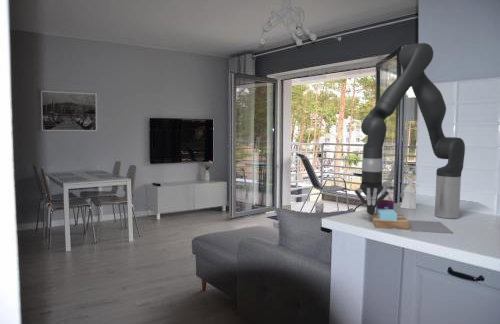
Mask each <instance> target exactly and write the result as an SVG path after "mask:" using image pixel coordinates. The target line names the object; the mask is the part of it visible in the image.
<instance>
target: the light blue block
mask: <svg viewBox="0 0 500 324" xmlns="http://www.w3.org/2000/svg"><path fill="white" fill-rule="evenodd" d="M397 215H398V213H397V212H396V211H395V209H394V210H393V209H377V216H378V217H379V219H380V220H392V221H397Z"/></svg>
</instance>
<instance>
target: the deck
mask: <svg viewBox="0 0 500 324" xmlns="http://www.w3.org/2000/svg"><path fill="white" fill-rule="evenodd" d="M370 220H371V223H372V225H373V224H374V225H373V226H375V227H374V228H375V229H376V228H377V229H388V228H396V229H395V230H407V229H410V222H409V221H408V220H409V219H407V218H406V217H405V216H404V215H403V214H397V221H392V220H380V219H379V217H378V216H377V214H376V212H375V213H374V214H373V215H370Z"/></svg>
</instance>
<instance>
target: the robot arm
mask: <svg viewBox="0 0 500 324" xmlns="http://www.w3.org/2000/svg"><path fill="white" fill-rule="evenodd" d="M433 58H434V50H433V47H432V45H430V44H429V43H425V42H421V43H420V42H419V43H412V44H406V45H404V46H403V47H401V48H400V51H399V54H398V59H399V63H400V67H401V68H402V70H403V72H402V73H401V74H400V75H399V76H398V77H397V78H396V79H395V80H393V82H392V83H391V84H389V85H388V87H387V88H386V89H385V90H384V91H383V92H382V94H381V96H380V98H379V99H378V100H377V102H376V105H374V107H373V108H372V109H371V110H370V111H369V112H368V114H366V116H365V118H363V121H362V122H361V126H360V129H361V132H362V133H363V135H365V136H367V140H366V143H364V144H363V147H362V161H361V183H360V185H359V187H358V188H357V189H354V193H355V194H356V196H357V197H358V199H359V200H360V201H361V202H362V204H365V205H366V212H367V214H368V215H369V216H371V215H373V214H374V213H376V206H377V204H380V203H381V202H382V201H383V200H385V198H387V196H388V195H389V194H390V193H389V192H388V190H386V189H384V185H383V169H384V168H383V146H384V142H385V139H386V134H387V124H386V121H385V120H386V119H387V118H388V117H390V116H391V115H392V114H394V112H395V111H396V109H397V107H398V106H399V104H400V103H401V101H402V99H403V97H404V96H405V95H406V94H407V92H408V91H409V89H410V88H411V90H412V92H413V95H414V96H415V99H416V103H417V106H418V108H419V110H420V112H421V115H422V119H423V120H424V121H423V122H424V123H425V127H426V130H427V132H428V136H429V140H430V141H429V142H430V145H431V149H432V151H433V154H434V156H435V157H436V158H437V159H439V160H440V159H441V160H447V163H446V164H445V165H444V166H441V167H438V168H437V169H436V173H435V176H436V178H435V197H434V200H435V201H434V217H437V218H441V219H442V218H443V219H450V220H452V219H453V220H454V219H459V218H460V206H461V205H460V203H461V185H462V184H461V183H462V182H461V180H462V171H463V169H464V165H465V164H464V163H465V154H466V145H465V142H464V140H463V139H462V138H460V137H456V136H455V137H452V136H451V137H450V136H445V134H444V131H443V121H444V119H445V116H446V112H447V105H446V103H445V100H444V97H443V95H442V94H443V93H442V92H441V91H440V89H439V87H437V86H436V84H434V83H433V82H432V81H431V79H429V77H428V76H427V74H426V73H425V70H426V69H427V68H428V66H429V65H430V64H431V63H432V61H433ZM362 192H363V194H364V196H366V197H365V198H366V199H365V198H364V197H363V195H362ZM379 194H381V195H380V196H379ZM377 196H379V197H378V198H377Z"/></svg>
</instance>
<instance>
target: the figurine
mask: <svg viewBox="0 0 500 324" xmlns="http://www.w3.org/2000/svg"><path fill="white" fill-rule="evenodd" d="M416 175H417V173H414V170H413V169H411V170H409V171H407V177H406V180H407V184H408V185H406V186H405V187H404V188H403V190H402V191H403V195H402V196H403V197H402V201H401V204H400V206H399V208H401V209H405V210H416V209H417V206H416V199H415V198H416V197H415V196H416V193H417V192H416V190H415V188H414V187H418V186H420V184H414V182H415V180H414V178H413V177H414V176H416Z"/></svg>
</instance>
